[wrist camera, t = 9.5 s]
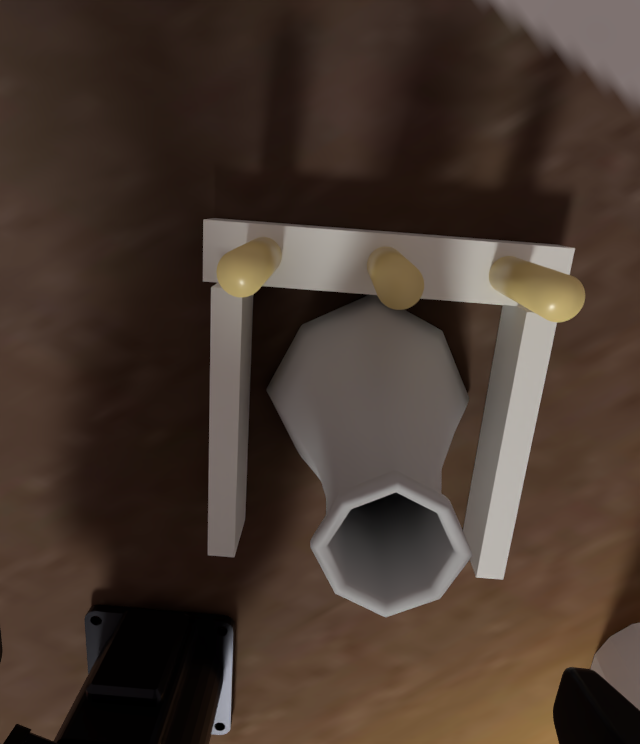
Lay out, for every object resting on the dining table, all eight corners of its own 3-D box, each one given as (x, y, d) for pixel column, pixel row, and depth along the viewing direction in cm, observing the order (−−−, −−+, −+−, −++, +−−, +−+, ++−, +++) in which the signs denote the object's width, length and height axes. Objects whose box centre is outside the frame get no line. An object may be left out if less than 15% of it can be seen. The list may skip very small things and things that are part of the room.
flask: (375, 255, 19) (413, 310, 10) (501, 397, 21) (639, 564, 11) (233, 385, 21) (148, 540, 12) (359, 508, 22) (375, 736, 13)
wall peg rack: (497, 540, 23) (551, 655, 17) (209, 516, 23) (166, 623, 17) (557, 244, 19) (651, 264, 13) (213, 217, 19) (160, 226, 13)
